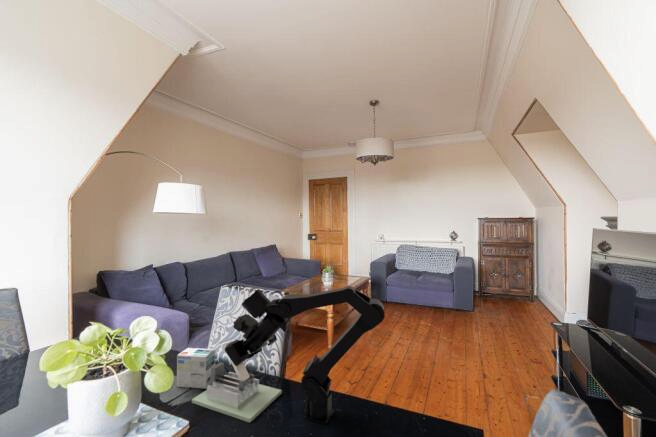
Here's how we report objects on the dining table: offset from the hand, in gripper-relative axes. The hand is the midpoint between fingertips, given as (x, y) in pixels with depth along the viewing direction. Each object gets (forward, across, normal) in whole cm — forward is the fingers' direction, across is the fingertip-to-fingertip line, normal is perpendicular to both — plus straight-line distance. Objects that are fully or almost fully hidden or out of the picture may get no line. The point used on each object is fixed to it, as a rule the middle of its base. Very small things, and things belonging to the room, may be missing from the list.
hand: (237, 360), depth 93 cm
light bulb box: (+22, -2, -5) cm, 23 cm away
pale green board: (+9, -1, +8) cm, 12 cm away
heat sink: (+10, 0, +6) cm, 11 cm away
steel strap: (+2, 0, +1) cm, 2 cm away
